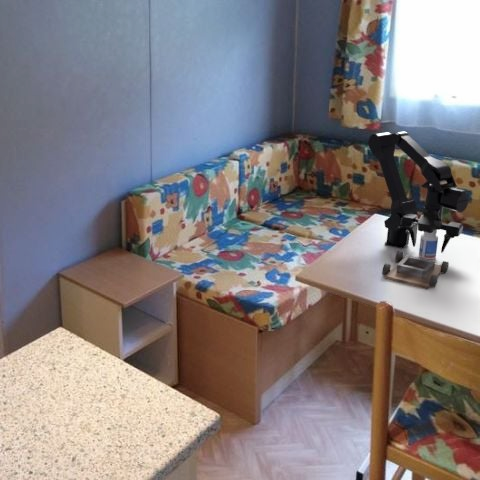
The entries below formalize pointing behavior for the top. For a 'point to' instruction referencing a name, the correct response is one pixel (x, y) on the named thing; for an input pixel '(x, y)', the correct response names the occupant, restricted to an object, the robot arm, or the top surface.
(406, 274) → the chassis
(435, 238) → the pill bottle
